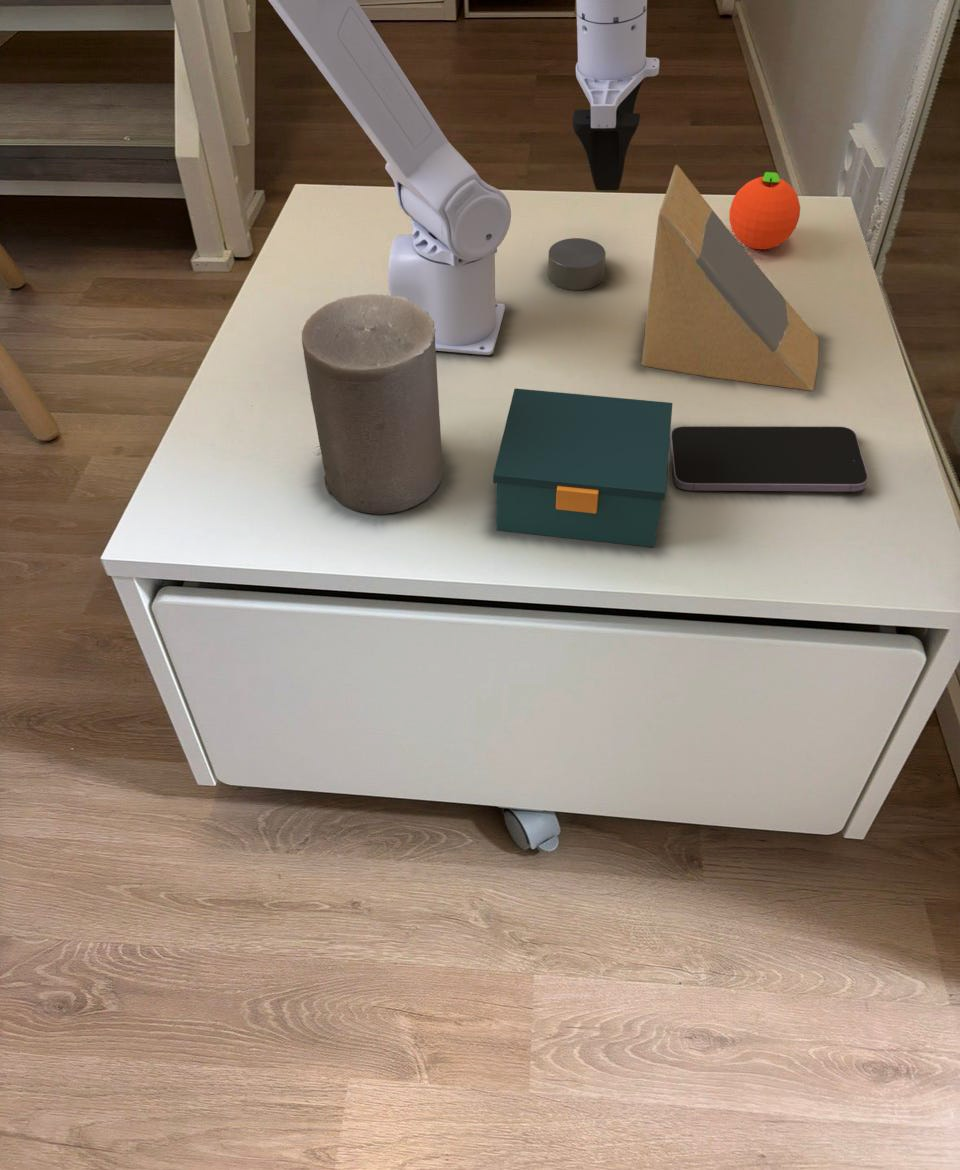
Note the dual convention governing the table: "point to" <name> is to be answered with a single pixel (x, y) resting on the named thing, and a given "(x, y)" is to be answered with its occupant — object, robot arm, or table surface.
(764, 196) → the clementine
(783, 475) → the smartphone
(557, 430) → the box
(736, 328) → the sandwich container
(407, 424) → the pillar candle
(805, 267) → the table surface
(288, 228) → the table surface
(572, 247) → the grey disc
